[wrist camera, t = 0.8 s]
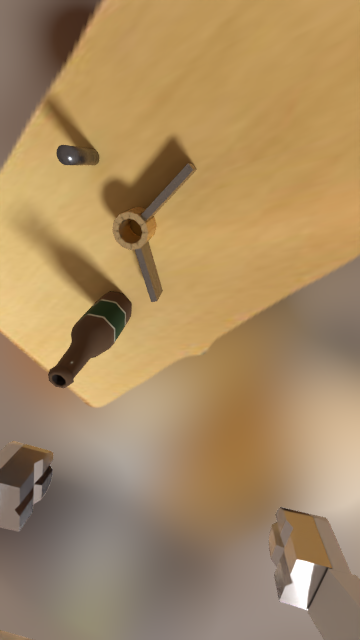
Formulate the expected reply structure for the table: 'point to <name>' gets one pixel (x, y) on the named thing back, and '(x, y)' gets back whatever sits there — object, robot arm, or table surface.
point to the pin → (77, 155)
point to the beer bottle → (92, 336)
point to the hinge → (147, 231)
